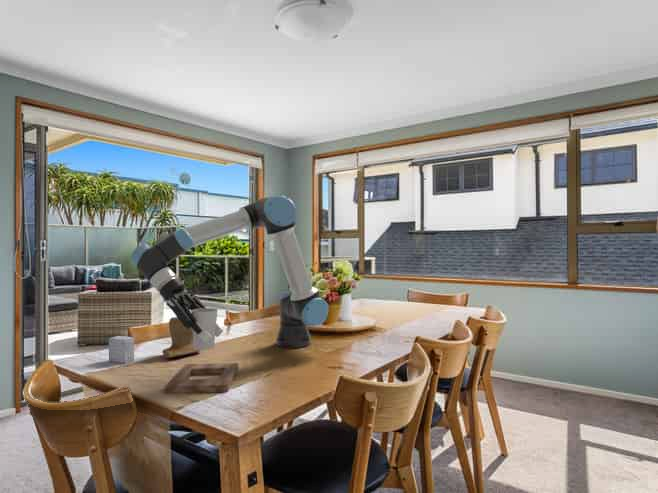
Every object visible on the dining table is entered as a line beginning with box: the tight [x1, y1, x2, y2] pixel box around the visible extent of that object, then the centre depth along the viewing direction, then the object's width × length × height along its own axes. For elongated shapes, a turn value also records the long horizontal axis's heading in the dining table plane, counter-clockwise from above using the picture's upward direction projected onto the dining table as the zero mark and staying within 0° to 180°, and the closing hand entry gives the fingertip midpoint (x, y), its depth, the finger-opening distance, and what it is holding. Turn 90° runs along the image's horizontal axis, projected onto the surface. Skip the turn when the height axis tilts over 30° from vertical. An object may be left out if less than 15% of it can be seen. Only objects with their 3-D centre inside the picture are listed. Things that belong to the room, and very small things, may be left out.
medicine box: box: [108, 335, 135, 364], centre depth 150 cm, size 8×4×9 cm, turn 71°
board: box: [164, 362, 239, 394], centre depth 130 cm, size 18×22×2 cm
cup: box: [190, 307, 218, 351], centre depth 130 cm, size 8×8×12 cm
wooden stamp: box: [161, 316, 202, 359], centre depth 160 cm, size 15×12×15 cm
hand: (214, 337), depth 130 cm, fingers closed on cup, 7 cm apart
